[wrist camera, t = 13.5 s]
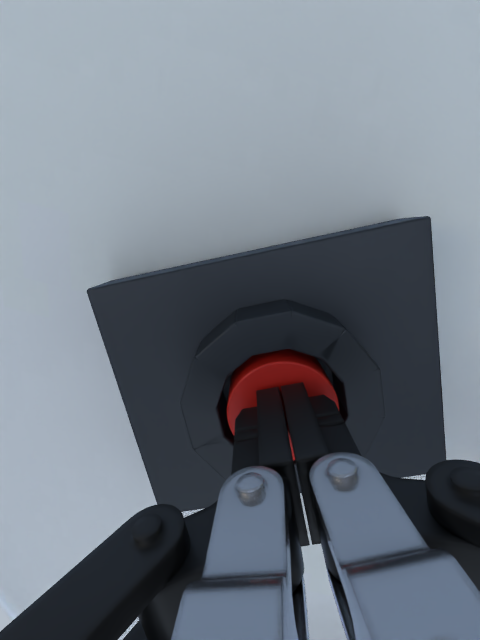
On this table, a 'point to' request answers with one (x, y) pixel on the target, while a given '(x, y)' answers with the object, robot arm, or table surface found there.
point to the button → (275, 380)
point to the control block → (280, 348)
